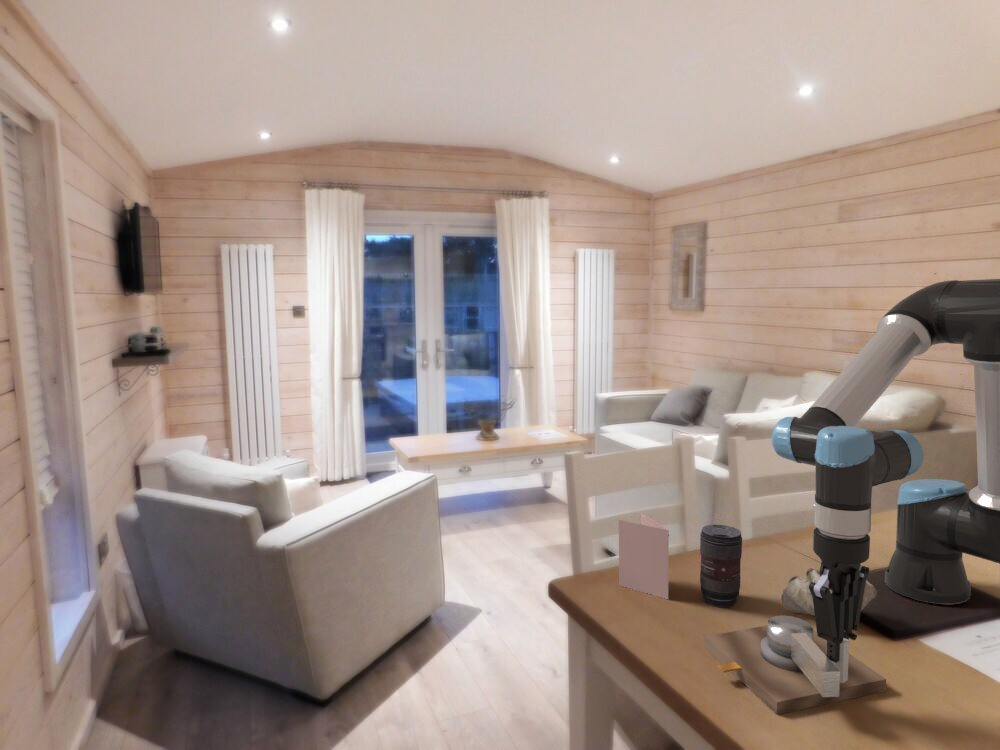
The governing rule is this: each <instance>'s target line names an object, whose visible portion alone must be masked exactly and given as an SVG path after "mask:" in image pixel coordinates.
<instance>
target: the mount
mask: <svg viewBox="0 0 1000 750" xmlns="http://www.w3.org/2000/svg"><path fill="white" fill-rule="evenodd" d="M767 629H768V624H767V625H762V626H756V627H751V628H743V629H740V630H735V631H727V632H724V633H718V634H711V635H706V636H705V635H704V636H703V648H704V649H705V650H706V651H708V652H709V653H710V654H711V655H712V656H713V657H714V658H715V659H716V660H717V661H718V662H719V663H720V664H717V669H719V670H720V671H721V672H722V673H731V672H732V673H733V674H732V673H731V674H732V675H734V676H735V678H736V679H738V680H739V681H740V682H741V683H742V682H743V683H744V684H745V685H746V686H747V687H746V686H745V685H744V684H743V683H742V684H743V685H744V686H745V687H746V688H747V689H749V691H751V692H752V693H753V694H754V695H755V696H756V697H757V698H758V699H759V698H760V699H761V700H760V699H759V700H760V701H761V702H762V703H763V704H765V705H766V706H767V707H768V708H769V709H770V710H771V711H772V712H773V711H774V712H773V713H775V715H781V714H786V713H789V711H790V712H795V711H798V710H799V709H800V710H804V709H807V708H812V707H818V706H822V705H823V706H824V705H827V704H832V703H836V702H841V701H844V700H845V701H846V700H849V699H854V698H859V697H863V696H869V695H873V694H878V693H883V692H886V691H887V679H886V678H885V677H884V676H883V675H881V674H879V673H878V672H877V671H875V670H874V669H872V668H871V667H869V666H867V665H866V664H865V663H864V662H862V661H860V660H859V659H858V658H856V657H854V656H853V655H852V654H850V653H849V658H848V680H847V681H846V682H844V683H841V682H840V686H839V697H822V696H821V694H820V693H819V692H818V691H817V689H816V688H815V687H814V686H813V684H812V683H811V682H810V681H809V679H808V678H807V677H806V676H805V674H804V673H803V672H802V670H801V669H800V668H799V667H798V665H797V664H796V663H795V662H794V660H793V659H792V658H791V657H787V656H783V655H780V654H778V653H776V652H774V651H773V650H771V649H770V648H769V647H768V645H767ZM813 642H814V643H815V644H816V645H817V646H818V647H819V648H820V650H821V651H822V652H823V653H824V654H825V655H826V645H827V640H825V639H822V638H820V637H818V636H817V630H815V629H814V628H813ZM730 671H731V672H730Z"/></svg>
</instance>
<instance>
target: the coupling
mask: <svg viewBox="0 0 1000 750" xmlns="http://www.w3.org/2000/svg"><path fill="white" fill-rule="evenodd" d="M767 625H768V629H767V645H768V647H769V648H770V649H771V650H773V651H774V652H776V653H778V654H780V655H783V656H787V657H791V658H792V659H793V660H794V662H795V663H796V664H797V665H798V667H799V668H800V669H801V670H802V672H803V673H804V674H805V676H806V677H807V678H808V679H809V681H810V682H811V683H812V684H813V686H814V687H815V688H816V689H817V691H818V692H819V693H820V694H821V696H822V697H839V686H840V671H839V670H838V669H837V667H836V666H835V665H834V664H833V663H832V662H831V661H830V660H829V658H828V657H827V656H826V655H825V654H824V653H823V652H822V651H821V650H820V648H819V647H818V646H817V645H816V644H815V643H814V642H813V629H814V627H813V625H812V624H810V623H809V622H808V621H806V620H804V619H802V618H799V617H795V616H791V615H775V616H771V617H770V618H768V620H767Z"/></svg>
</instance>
